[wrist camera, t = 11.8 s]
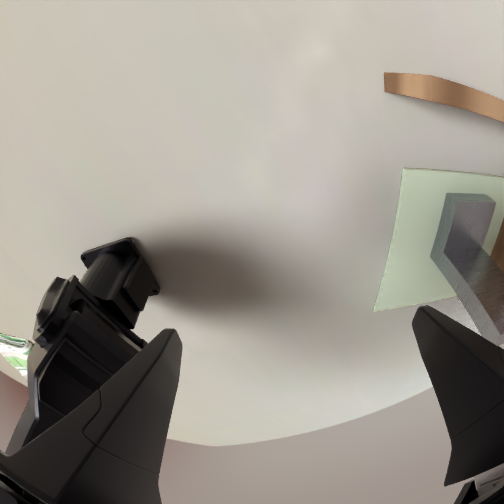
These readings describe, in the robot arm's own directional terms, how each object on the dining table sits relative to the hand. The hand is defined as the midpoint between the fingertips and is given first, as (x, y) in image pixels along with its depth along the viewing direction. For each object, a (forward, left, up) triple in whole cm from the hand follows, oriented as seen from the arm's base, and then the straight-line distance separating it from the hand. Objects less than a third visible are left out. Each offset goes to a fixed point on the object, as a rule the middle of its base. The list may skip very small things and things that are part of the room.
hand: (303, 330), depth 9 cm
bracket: (+17, -7, -13) cm, 23 cm away
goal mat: (+17, -10, -13) cm, 24 cm away
